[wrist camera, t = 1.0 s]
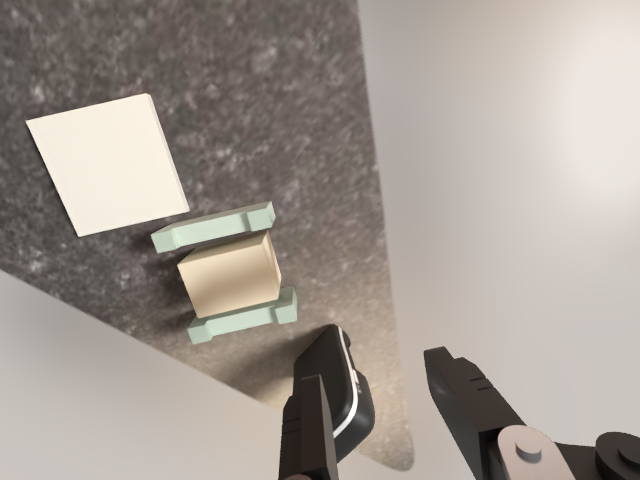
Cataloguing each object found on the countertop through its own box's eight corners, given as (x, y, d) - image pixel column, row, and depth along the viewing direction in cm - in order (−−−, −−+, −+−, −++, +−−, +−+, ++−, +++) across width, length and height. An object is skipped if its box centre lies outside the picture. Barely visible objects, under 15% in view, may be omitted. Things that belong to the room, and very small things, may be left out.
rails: (171, 223, 29) (150, 234, 25) (270, 200, 29) (266, 208, 25) (206, 320, 31) (193, 344, 27) (297, 299, 31) (296, 320, 27)
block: (197, 246, 30) (177, 264, 25) (267, 229, 30) (261, 244, 25) (214, 293, 31) (198, 318, 26) (281, 276, 31) (277, 299, 26)
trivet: (33, 122, 26) (25, 121, 25) (150, 95, 26) (145, 93, 25) (84, 234, 28) (78, 236, 28) (189, 210, 28) (186, 211, 28)
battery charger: (317, 382, 34) (325, 489, 23) (291, 363, 33) (286, 465, 22) (360, 339, 33) (389, 431, 22) (334, 319, 32) (351, 404, 21)
